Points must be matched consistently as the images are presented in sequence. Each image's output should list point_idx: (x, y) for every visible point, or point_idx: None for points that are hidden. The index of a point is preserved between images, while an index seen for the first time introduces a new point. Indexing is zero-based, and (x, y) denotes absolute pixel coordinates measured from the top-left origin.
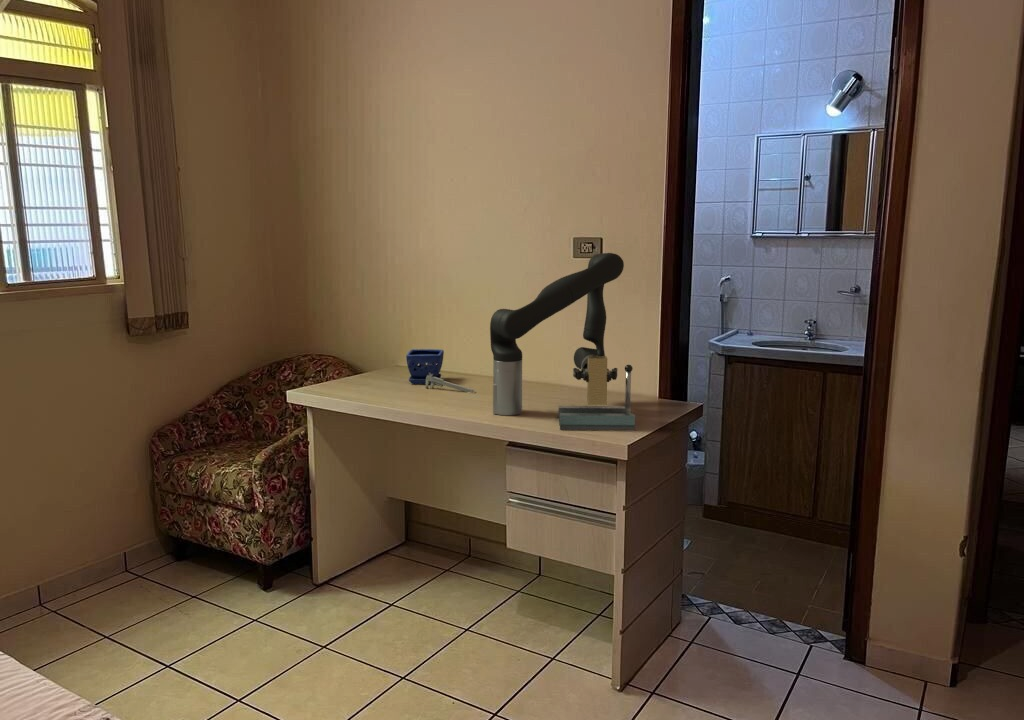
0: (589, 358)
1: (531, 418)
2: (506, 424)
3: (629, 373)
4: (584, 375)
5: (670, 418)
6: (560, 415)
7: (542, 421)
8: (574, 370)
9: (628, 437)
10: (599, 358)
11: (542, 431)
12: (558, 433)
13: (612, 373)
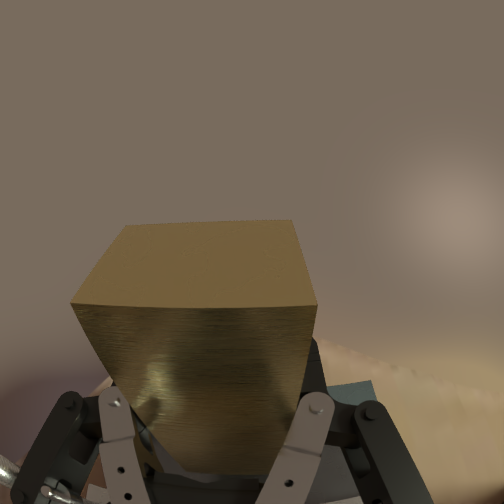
0: (284, 220)
1: (462, 491)
2: (491, 405)
3: None
4: (313, 349)
5: (4, 486)
6: (369, 380)
7: (426, 473)
8: (420, 485)
9: None
10: (191, 222)
11: (396, 374)
12: (353, 365)
13: (91, 401)
